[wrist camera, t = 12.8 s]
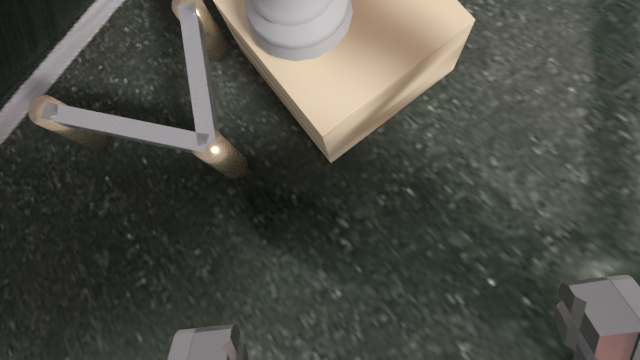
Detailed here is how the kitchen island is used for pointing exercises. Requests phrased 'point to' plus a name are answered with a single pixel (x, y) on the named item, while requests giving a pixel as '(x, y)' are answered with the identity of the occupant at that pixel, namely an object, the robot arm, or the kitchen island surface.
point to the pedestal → (361, 66)
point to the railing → (204, 143)
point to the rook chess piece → (298, 26)
